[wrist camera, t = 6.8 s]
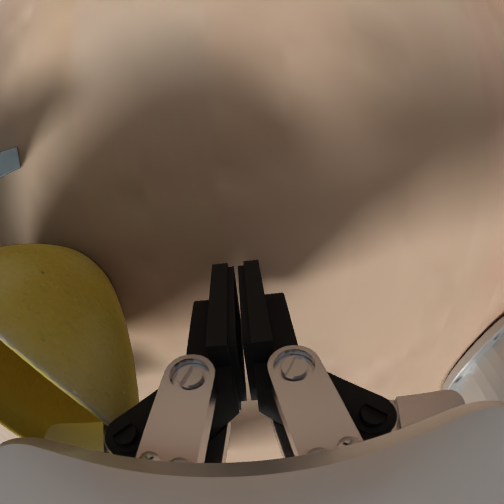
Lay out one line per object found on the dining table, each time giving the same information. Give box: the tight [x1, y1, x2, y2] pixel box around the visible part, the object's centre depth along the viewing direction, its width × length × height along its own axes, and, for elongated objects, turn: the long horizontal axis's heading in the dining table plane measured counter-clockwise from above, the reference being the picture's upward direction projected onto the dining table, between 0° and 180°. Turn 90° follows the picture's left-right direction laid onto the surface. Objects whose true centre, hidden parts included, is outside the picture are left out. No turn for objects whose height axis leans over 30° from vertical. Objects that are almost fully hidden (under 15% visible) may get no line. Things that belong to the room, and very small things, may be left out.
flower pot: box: [0, 244, 139, 439], centre depth 8 cm, size 10×10×7 cm
